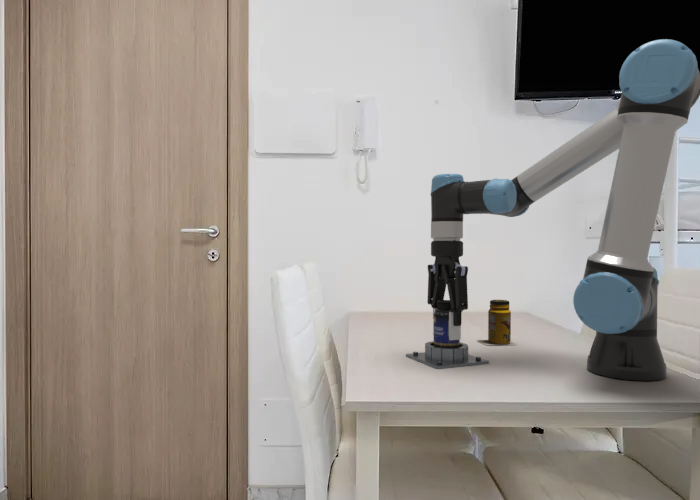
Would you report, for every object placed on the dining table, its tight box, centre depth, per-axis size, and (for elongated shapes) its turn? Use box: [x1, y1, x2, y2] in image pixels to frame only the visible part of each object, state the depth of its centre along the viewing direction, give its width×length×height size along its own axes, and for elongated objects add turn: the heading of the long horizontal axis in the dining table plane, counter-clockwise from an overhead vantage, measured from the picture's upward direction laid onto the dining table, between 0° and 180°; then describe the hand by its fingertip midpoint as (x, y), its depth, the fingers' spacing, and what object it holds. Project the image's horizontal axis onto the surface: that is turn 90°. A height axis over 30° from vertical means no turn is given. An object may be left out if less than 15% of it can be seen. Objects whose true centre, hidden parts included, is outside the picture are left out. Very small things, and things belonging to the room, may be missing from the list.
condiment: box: [477, 299, 517, 346], centre depth 146 cm, size 7×8×12 cm
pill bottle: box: [433, 299, 461, 348], centre depth 124 cm, size 6×6×11 cm
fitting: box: [405, 340, 490, 370], centre depth 124 cm, size 14×14×4 cm
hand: (446, 337), depth 124 cm, fingers closed on pill bottle, 6 cm apart
